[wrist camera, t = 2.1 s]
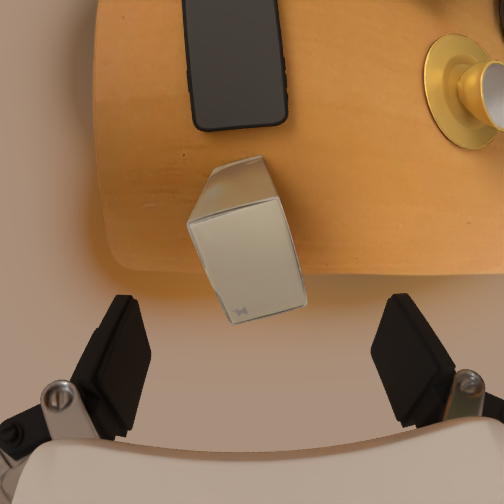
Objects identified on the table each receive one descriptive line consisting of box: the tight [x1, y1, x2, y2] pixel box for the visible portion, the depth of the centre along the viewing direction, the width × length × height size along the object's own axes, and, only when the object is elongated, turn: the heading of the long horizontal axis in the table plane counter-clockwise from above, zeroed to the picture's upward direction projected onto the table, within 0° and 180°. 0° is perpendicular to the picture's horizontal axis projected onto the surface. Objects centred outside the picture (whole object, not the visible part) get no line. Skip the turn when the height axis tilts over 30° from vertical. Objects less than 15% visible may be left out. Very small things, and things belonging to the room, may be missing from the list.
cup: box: [424, 34, 504, 149], centre depth 17 cm, size 12×12×5 cm
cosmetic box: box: [187, 155, 308, 325], centre depth 19 cm, size 6×4×12 cm
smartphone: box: [182, 0, 288, 132], centre depth 18 cm, size 7×1×15 cm
